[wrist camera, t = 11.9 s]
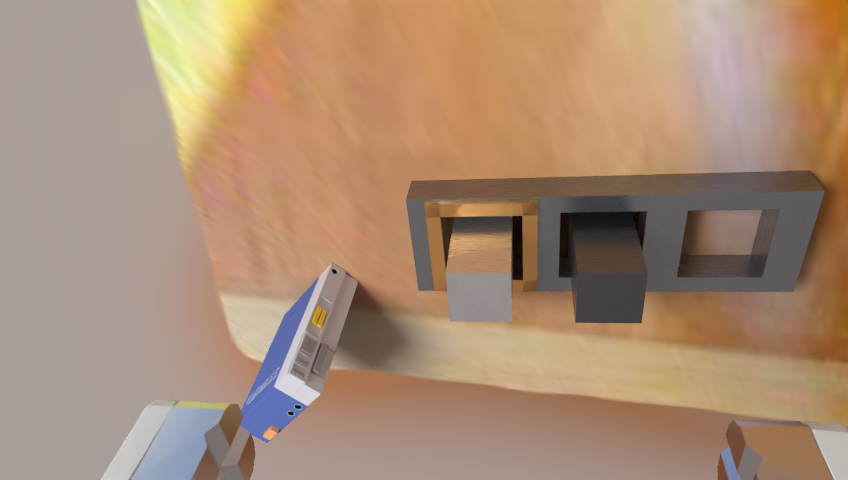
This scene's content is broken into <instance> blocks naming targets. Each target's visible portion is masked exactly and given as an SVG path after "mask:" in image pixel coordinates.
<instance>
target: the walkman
mask: <svg viewBox="0 0 848 480" xmlns="http://www.w3.org/2000/svg"><path fill="white" fill-rule="evenodd" d="M345 273H346V271H344V270H343V269H341V268H340V267H338V266H337V265H335V264H333V263H331V265H330V266H329V267H328V268H327V269H326V270H325V271H324V272H323V273H322V274H321V276H320V277H319V278H318V279H317V280H316V281H315V282H314V283H313V284H312V286H311V287H310V288H309V289H308V290H307V291H306V292H305V293H304V294H303V295H302V297H301V298H300V299H299V300H298V301H297V302H296V303H295V304H294V305H293V306H292V307H291V309H290V310H289V311H288V312H287V313H286V314H285V315H284V318H283V320H282V322H281V324H280V326H279V329H278V331H277V333H276V335H275V337H274V340H273V342H272V344H271V346H270V348H269V351H268V353H267V355H266V357H265V360H264V362H263V364H262V366H261V369H260V371H259V373H258V375H257V377H256V380H255V382H254V384H253V386H252V388H251V390H250V393H249V395H248V397H247V399H246V402H245V404H244V406H243V408H242V410H241V412H242V414H243V416H244V417H243V419H242V422H241V424H240V425H241V426H242V427H243V428H245V429H246V430H247V431H249V432H250V433H251V434H252V435H253V436H255V437H257V438H259V439H261V440H263V441H265V442H269V441H270V440H271V439H272V438H273V437H274V436H275V435H277V434H278V433H279V432H280V431H281V430H282V429H283V428H284V427H285V426H287V425H288V424H289V423H290V422H291V421H292V420H293V419H294V418H295V417H297V416H298V415H299V414H300V413H301V412H302V411H303V410H304V409H306V408H307V407H308V405H309V404H310V403H311V402H313V401H314V400H315V399H316V398H317V397H318V396H319V395H320V394H321V392H322V389H323V386H324V383H325V380H326V377H327V374H328V371H329V368H330V365H331V362H332V359H333V356H334V353H335V350H336V347H337V344H338V341H339V338H340V335H341V332H342V329H343V326H344V323H345V320H346V317H347V314H348V311H349V308H350V305H351V302H352V299H353V296H354V293H355V290H356V287H357V284H358V281H356V280H354V279H353V278H351V277H350V276H348V275H347V274H345Z"/></svg>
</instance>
